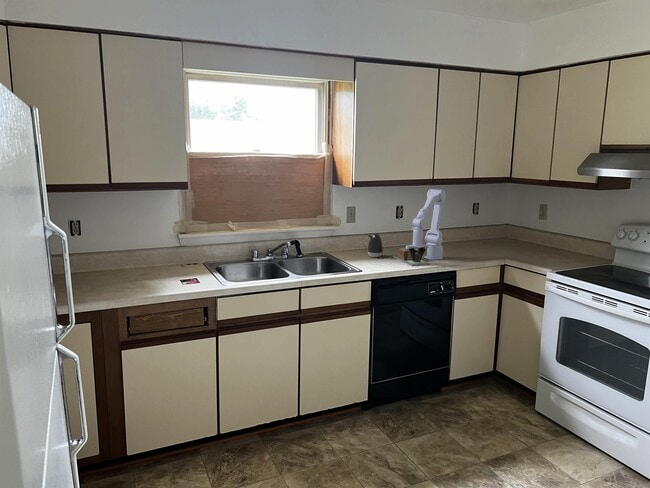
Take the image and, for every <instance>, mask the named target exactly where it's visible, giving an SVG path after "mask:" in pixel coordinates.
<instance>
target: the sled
mask: <svg viewBox="0 0 650 488" xmlns="http://www.w3.org/2000/svg"><path fill="white" fill-rule="evenodd" d="M405 259H407V260H412V257H409V258H408V257H405ZM421 260H422V259H421V253H415V260H412V261H413V262H421Z"/></svg>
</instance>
